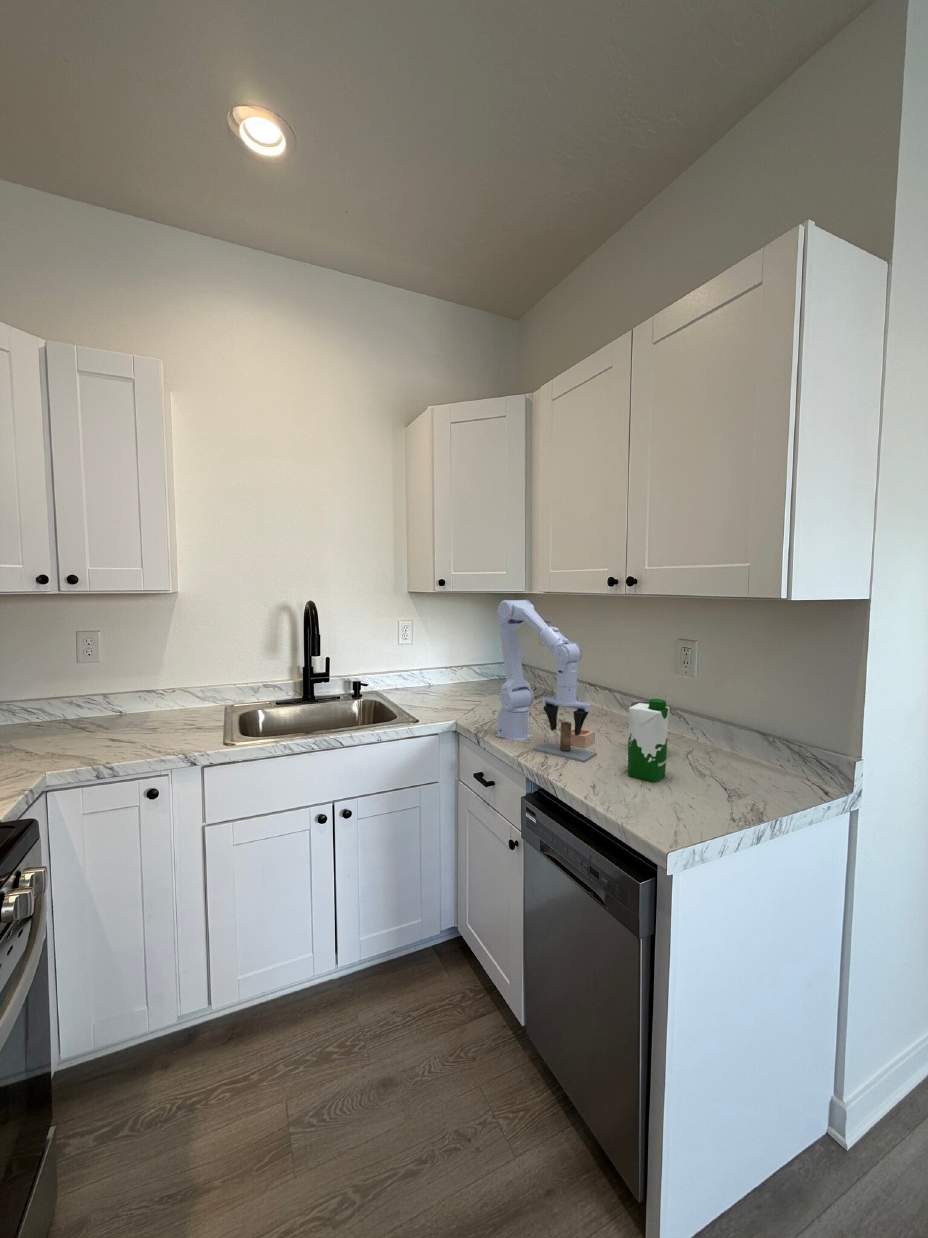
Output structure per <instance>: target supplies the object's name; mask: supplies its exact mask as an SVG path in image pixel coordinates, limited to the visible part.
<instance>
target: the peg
mask: <svg viewBox="0 0 928 1238" xmlns="http://www.w3.org/2000/svg"><path fill="white" fill-rule="evenodd" d="M571 729H572V723H571V721H570V722H569V721H561V722H560V734H559V735H560V751H563V752H570V751H571V747H572V745H571Z"/></svg>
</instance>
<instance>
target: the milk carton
mask: <svg viewBox="0 0 928 1238" xmlns="http://www.w3.org/2000/svg"><path fill="white" fill-rule="evenodd" d="M648 702H649V704H643V703H638V704H636V705H634V706H632V707H631V706H630V707H628V742H627V743H628V744H627V745H628V746H627V747H628V749H627V775H628V777H631V778H633V779H639V780H643V781H646V782H647V781H648V782H650V783H654V784H656V783H657V782H659V781H660V780H661V779H662V778H663V777H664V776H666V767H667V766H666V765H667V754H668V753H667V751H668V749H667V748H668V725H669V724H668V723H669V713H670V707H669V706H668V707H666V706H667V701H666V700H665V699H659V698H650V699H649V701H648Z"/></svg>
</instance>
